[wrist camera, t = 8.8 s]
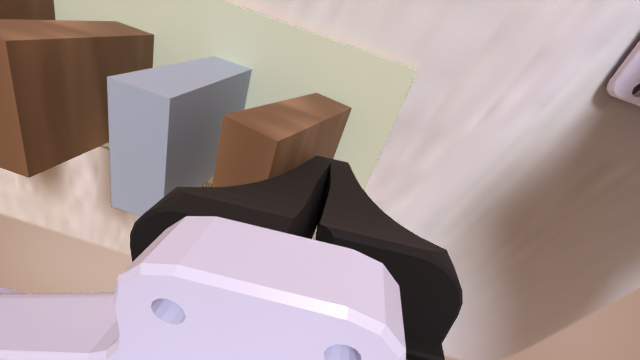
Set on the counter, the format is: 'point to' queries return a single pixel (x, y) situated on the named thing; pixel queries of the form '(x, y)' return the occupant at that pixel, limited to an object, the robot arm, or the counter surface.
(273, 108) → the tile
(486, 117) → the counter surface
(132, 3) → the mat
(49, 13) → the tile
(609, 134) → the counter surface
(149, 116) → the tile
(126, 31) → the tile
